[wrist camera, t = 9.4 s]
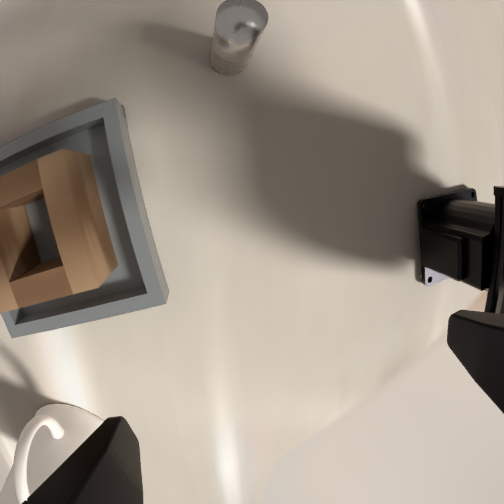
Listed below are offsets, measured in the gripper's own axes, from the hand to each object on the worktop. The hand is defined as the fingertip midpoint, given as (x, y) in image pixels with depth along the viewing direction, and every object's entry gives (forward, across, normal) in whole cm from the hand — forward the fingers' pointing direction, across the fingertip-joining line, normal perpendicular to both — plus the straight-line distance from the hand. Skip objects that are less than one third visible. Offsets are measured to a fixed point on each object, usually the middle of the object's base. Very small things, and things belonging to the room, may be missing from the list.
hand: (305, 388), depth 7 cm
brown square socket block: (+11, +10, -5) cm, 16 cm away
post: (+12, -2, -12) cm, 17 cm away
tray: (+12, +10, -5) cm, 16 cm away
